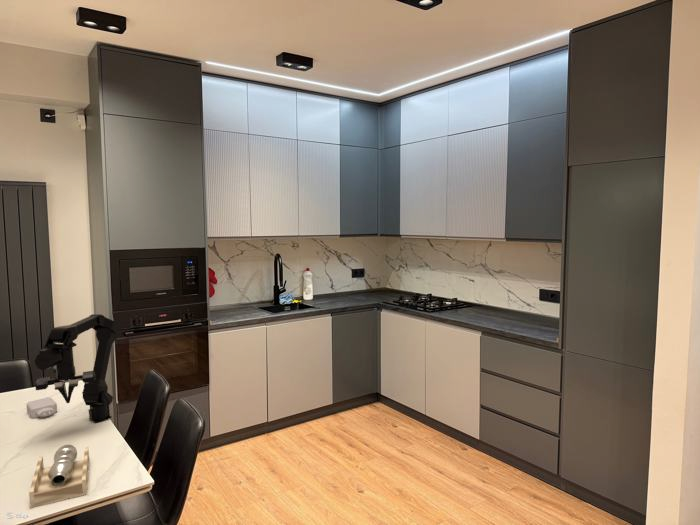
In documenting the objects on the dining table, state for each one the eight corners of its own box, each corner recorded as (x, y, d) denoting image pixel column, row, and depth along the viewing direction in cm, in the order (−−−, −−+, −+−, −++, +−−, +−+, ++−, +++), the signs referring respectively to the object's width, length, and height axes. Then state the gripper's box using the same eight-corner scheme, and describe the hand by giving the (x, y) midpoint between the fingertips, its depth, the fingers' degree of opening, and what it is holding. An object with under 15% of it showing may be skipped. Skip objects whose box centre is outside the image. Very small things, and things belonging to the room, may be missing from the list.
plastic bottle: (82, 451, 167) (76, 479, 149) (63, 466, 165) (55, 496, 147) (69, 438, 165) (61, 465, 147) (50, 452, 163) (40, 481, 145)
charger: (35, 423, 198) (27, 413, 209) (61, 416, 204) (52, 407, 215) (34, 412, 197) (26, 402, 208) (60, 405, 204) (51, 396, 215)
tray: (40, 470, 161) (39, 457, 160) (89, 460, 167) (88, 447, 166) (30, 507, 140) (29, 492, 140) (86, 494, 146) (85, 479, 146)
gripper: (93, 352, 193) (97, 391, 195) (37, 359, 185) (41, 400, 187) (93, 359, 183) (96, 400, 185) (33, 367, 175) (37, 410, 177)
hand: (68, 402), depth 183 cm, fingers closed
